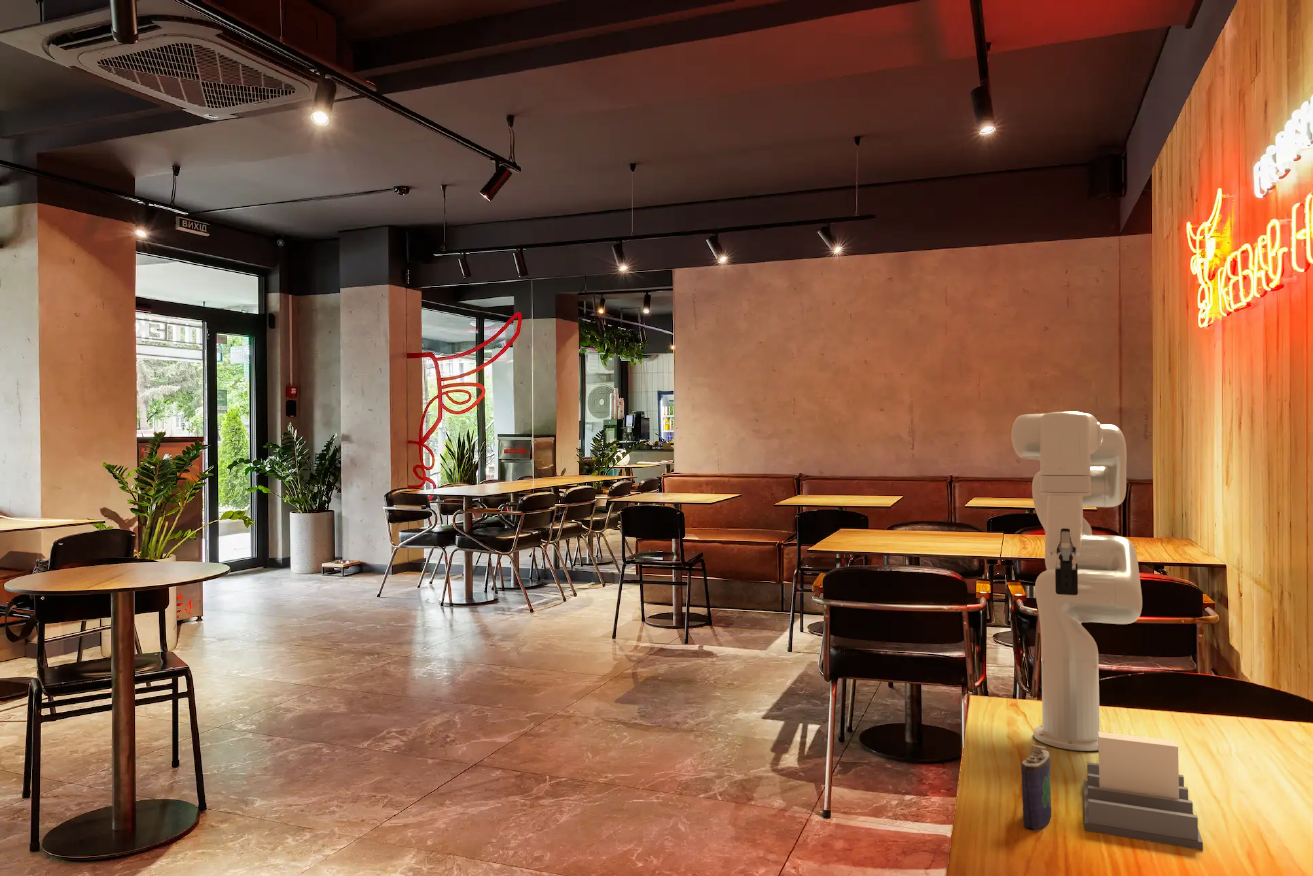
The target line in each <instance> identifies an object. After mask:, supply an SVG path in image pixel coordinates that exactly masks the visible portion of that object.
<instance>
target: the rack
mask: <svg viewBox="0 0 1313 876" xmlns="http://www.w3.org/2000/svg"><path fill="white" fill-rule="evenodd" d="M1086 768H1087V769H1086V773H1087V774H1086V775H1087V776H1086V779H1087V780H1083V797H1084V798H1083V801H1084V802H1083V803H1084V804H1083V807H1084V810H1083V813H1084V831H1087V832H1092V833H1093V832H1094V833H1097V834H1098V833H1100V834H1106V835H1111V836H1117V837H1123V838H1128V839H1129V838H1130V839H1135V840H1141V841H1147V842H1153V843H1159V844H1164V845H1170V846H1177V847H1182V848H1183V847H1184V848H1190V849H1196V850H1202V851H1203V850H1204V843H1203V839H1202V836H1201V833H1200V830H1199V822H1198V821H1199V820H1198V815H1197V814H1194V806H1193V805H1194V803H1193V801H1192V800H1190V799H1189V788H1188V787H1186V786H1185V778H1184V777H1185V776H1184V775H1183V774H1179V799H1177V798H1170V797H1163V796H1156V795H1149V794H1142V793H1135V792H1129V791H1122V790H1115V789H1108V788H1101V787H1099V762H1098V763H1096V762H1090V761H1089V762H1088V761H1086Z"/></svg>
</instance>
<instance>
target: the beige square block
mask: <svg viewBox="0 0 1313 876" xmlns="http://www.w3.org/2000/svg"><path fill="white" fill-rule="evenodd" d="M1098 748H1099V750H1098V764H1099V787H1101V788H1108V789H1115V790H1122V791H1129V792H1135V793H1142V794H1149V795H1156V796H1163V797H1170V798H1177V799H1179V775H1180V774H1179V772H1180V771H1179V770H1180V769H1179V745H1178V743H1177V740H1173V739H1165V738H1157V737H1150V736H1149V737H1148V736H1140V735H1131V734H1123V733H1115V732H1107V731H1100V732H1099V731H1098Z"/></svg>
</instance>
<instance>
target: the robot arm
mask: <svg viewBox="0 0 1313 876" xmlns="http://www.w3.org/2000/svg"><path fill="white" fill-rule="evenodd" d="M1011 444H1012V448H1013V449H1014V452H1015V454H1016V455H1017V456H1018V457H1019V458H1021V459H1023V460H1030V461H1031V460H1032V461H1038V462H1039V465H1040V466H1039V467H1040V468H1039V469H1040V470H1039V471H1038V472H1036V474H1035V475H1034V477H1033V479H1032V484H1031V492H1032V493H1031V494H1032V499H1033V506H1034V509H1035V513H1036V515H1037V517H1038V520H1039V522H1040V524H1041V527H1043V530H1044V535H1045V536H1044V537H1045V538H1044V539H1045V540H1044V563H1045V571H1042V572H1041V573H1040V574H1039V575H1038V576H1037V578H1036V580H1035V583H1034V584H1035V586H1034V588H1035V589H1034V591H1035V599H1036V604H1037V605H1036V606H1037V611H1038V616H1039V627H1040V644H1041V645H1040V646H1041V650H1040V651H1041V657H1040V658H1041V709H1042V711H1041V713H1042V715H1041V716H1042V717H1041V718H1042V724H1041V725H1039V726H1036V727H1035V728H1033V737H1034V739H1036V740H1037V741H1038V742H1040V743H1042V744H1044V745H1048V746H1051V747H1054V748H1058V749H1063V750H1070V751H1077V752H1078V751H1081V752H1094V751H1099V748H1098V731H1099V732H1101V731H1100V728H1101V727H1100V723H1101V722H1100V684H1099V681H1100V675H1099V673H1100V672H1099V671H1100V670H1099V650H1098V645H1097V642H1096V641H1095V639H1094V637H1093V636H1092V635H1091V634H1090V632H1089V631H1088V630H1087V629H1086V628H1085V627H1084V626H1083V625H1082V623H1097V624H1098V623H1100V624H1101V623H1102V624H1115V625H1128V624H1132V623H1134V622H1136V621H1138V619H1139V618H1140V616H1141V614H1142V609H1143V594H1142V586H1141V578H1140V577H1141V576H1140V570H1139V560H1138V555H1137V552H1136V551H1137V550H1136V549H1135V546H1134V544H1133V543H1132V542H1131V540H1130V539H1128V538H1127V537H1124V536H1120V535H1109V534H1108V535H1107V534H1093V530H1092V527H1091V525H1090V523H1089V522H1088V521H1087V520H1086V519H1085V518H1084V511H1083V510H1084V508H1114V507H1117V506H1120V505H1121V504H1122V503H1123V502H1124V500H1125V498H1126V493H1127V458H1128V457H1127V442H1126V439H1125V436H1124V433H1123V432H1122V430H1121V429H1120V428H1119V427H1118V426H1117V425H1115V424H1108V423H1105V424H1101V423H1100V422H1099V421H1098V419H1097V418H1096V417H1095V416H1094V415H1092V414H1090V413H1086V412H1082V411H1081V412H1080V411H1053V412H1047V413H1028V414H1021V415H1019V416H1017V417H1016V418H1015V420H1014V422H1013V425H1012V428H1011Z"/></svg>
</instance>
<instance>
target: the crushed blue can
mask: <svg viewBox="0 0 1313 876" xmlns="http://www.w3.org/2000/svg"><path fill="white" fill-rule="evenodd" d="M1030 747H1032V749H1033V750H1032V751H1031V755H1030V756H1029V757H1026V758H1025V759H1024V760H1022V761H1021V763H1020V765H1021V766H1020V767H1021V769H1020V770H1021V788H1022V789H1021V791H1022V792H1021V798H1022V801H1021V802H1022V828H1024V829H1025V830H1026V831H1030V832H1040V831H1043V830H1044V829H1045V828H1046V827H1047V826H1048V825H1049V824H1050V821H1051V818H1052V813H1053V812H1052V801H1051V800H1052V798H1051V796H1052V794H1051V793H1052V791H1051V753H1050V752H1049V751H1048V750H1047V748H1046V746H1040V745H1038V744H1037V745H1036V744H1034V743H1033V744H1030Z"/></svg>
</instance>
